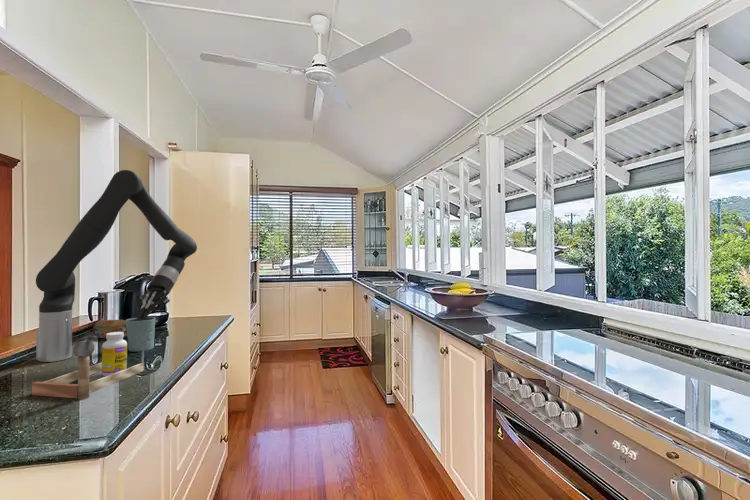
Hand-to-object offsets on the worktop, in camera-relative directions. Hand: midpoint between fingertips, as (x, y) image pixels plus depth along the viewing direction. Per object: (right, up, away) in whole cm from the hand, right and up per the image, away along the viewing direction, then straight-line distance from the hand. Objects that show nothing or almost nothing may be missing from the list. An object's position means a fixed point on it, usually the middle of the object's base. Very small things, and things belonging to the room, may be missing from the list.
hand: (139, 319), depth 133 cm
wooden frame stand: (-1, -15, -19) cm, 25 cm away
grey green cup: (-12, -16, +20) cm, 29 cm away
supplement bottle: (-2, -16, -10) cm, 19 cm away
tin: (-36, -16, +38) cm, 55 cm away
